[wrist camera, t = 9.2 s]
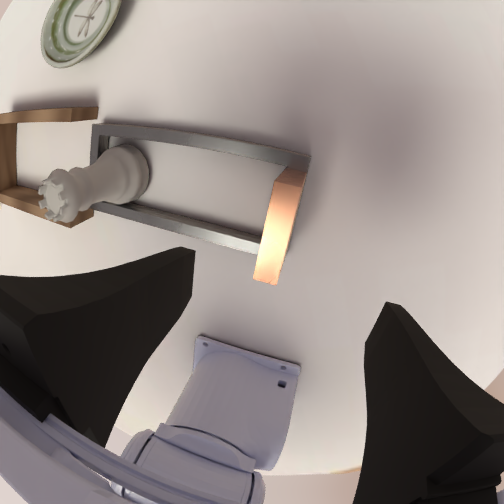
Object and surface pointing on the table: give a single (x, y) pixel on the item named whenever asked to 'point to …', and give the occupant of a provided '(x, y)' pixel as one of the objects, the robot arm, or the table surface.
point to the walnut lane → (4, 158)
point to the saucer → (75, 29)
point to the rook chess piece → (95, 183)
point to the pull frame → (266, 247)
